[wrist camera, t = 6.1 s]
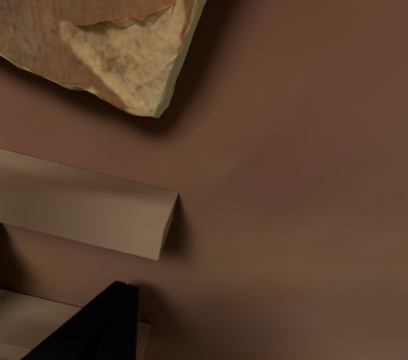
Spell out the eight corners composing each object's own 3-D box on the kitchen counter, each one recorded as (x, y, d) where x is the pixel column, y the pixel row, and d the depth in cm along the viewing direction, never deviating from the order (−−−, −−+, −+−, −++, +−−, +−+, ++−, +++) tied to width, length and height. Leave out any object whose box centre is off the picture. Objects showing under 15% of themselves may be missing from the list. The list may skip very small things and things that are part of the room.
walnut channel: (178, 192, 7) (164, 229, 6) (147, 338, 11) (133, 388, 9) (-154, 111, 7) (-266, 124, 6) (-82, 284, 10) (-140, 325, 9)
